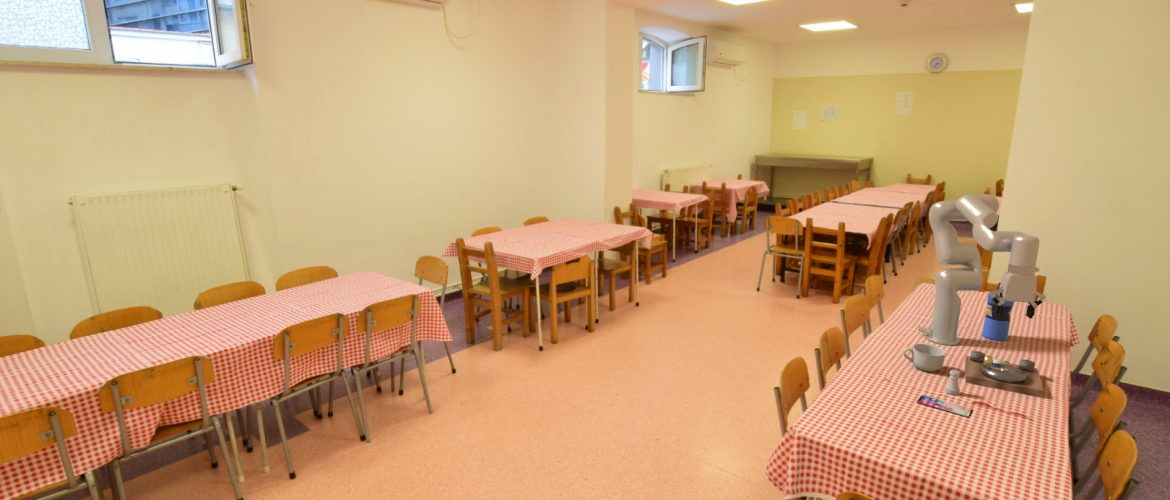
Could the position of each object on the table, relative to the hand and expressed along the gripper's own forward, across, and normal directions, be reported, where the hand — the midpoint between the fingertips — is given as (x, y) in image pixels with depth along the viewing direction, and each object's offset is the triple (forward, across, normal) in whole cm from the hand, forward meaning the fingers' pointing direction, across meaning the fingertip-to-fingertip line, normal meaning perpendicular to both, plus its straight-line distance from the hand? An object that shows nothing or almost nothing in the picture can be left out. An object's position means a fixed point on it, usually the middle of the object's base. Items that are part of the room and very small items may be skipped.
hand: (1013, 316), depth 205 cm
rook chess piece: (+24, +24, +19) cm, 38 cm away
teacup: (+23, +27, -1) cm, 36 cm away
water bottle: (+23, -14, -44) cm, 52 cm away
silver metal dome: (+21, +3, +6) cm, 22 cm away
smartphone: (+24, +30, +31) cm, 49 cm away
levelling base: (+23, +2, +2) cm, 23 cm away
